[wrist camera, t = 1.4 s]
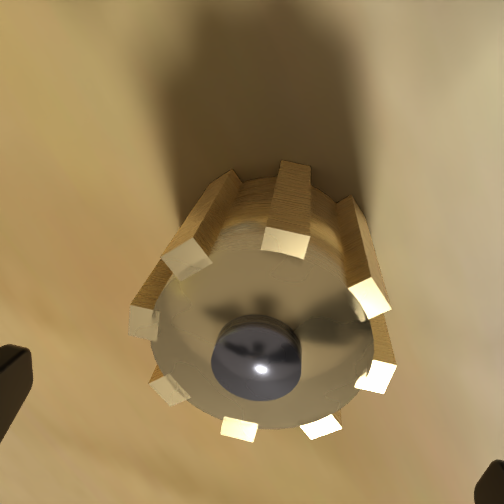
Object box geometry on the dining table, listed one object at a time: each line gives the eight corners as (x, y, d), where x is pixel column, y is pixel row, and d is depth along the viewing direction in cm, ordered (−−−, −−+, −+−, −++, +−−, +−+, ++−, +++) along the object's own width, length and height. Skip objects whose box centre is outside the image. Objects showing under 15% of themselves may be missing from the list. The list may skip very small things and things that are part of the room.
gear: (397, 185, 13) (450, 281, 8) (339, 343, 16) (353, 485, 11) (195, 141, 13) (124, 208, 8) (175, 306, 16) (114, 430, 11)
